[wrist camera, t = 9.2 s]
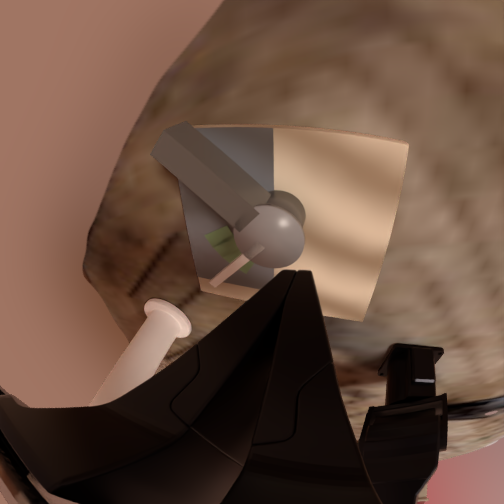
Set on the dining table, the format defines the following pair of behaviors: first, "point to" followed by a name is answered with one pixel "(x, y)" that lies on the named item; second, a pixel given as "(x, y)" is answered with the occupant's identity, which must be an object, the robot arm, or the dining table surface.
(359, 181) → the thin beige panel
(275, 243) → the grey knobbed piece
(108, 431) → the robot arm
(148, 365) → the candle
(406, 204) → the dining table surface
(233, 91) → the dining table surface
